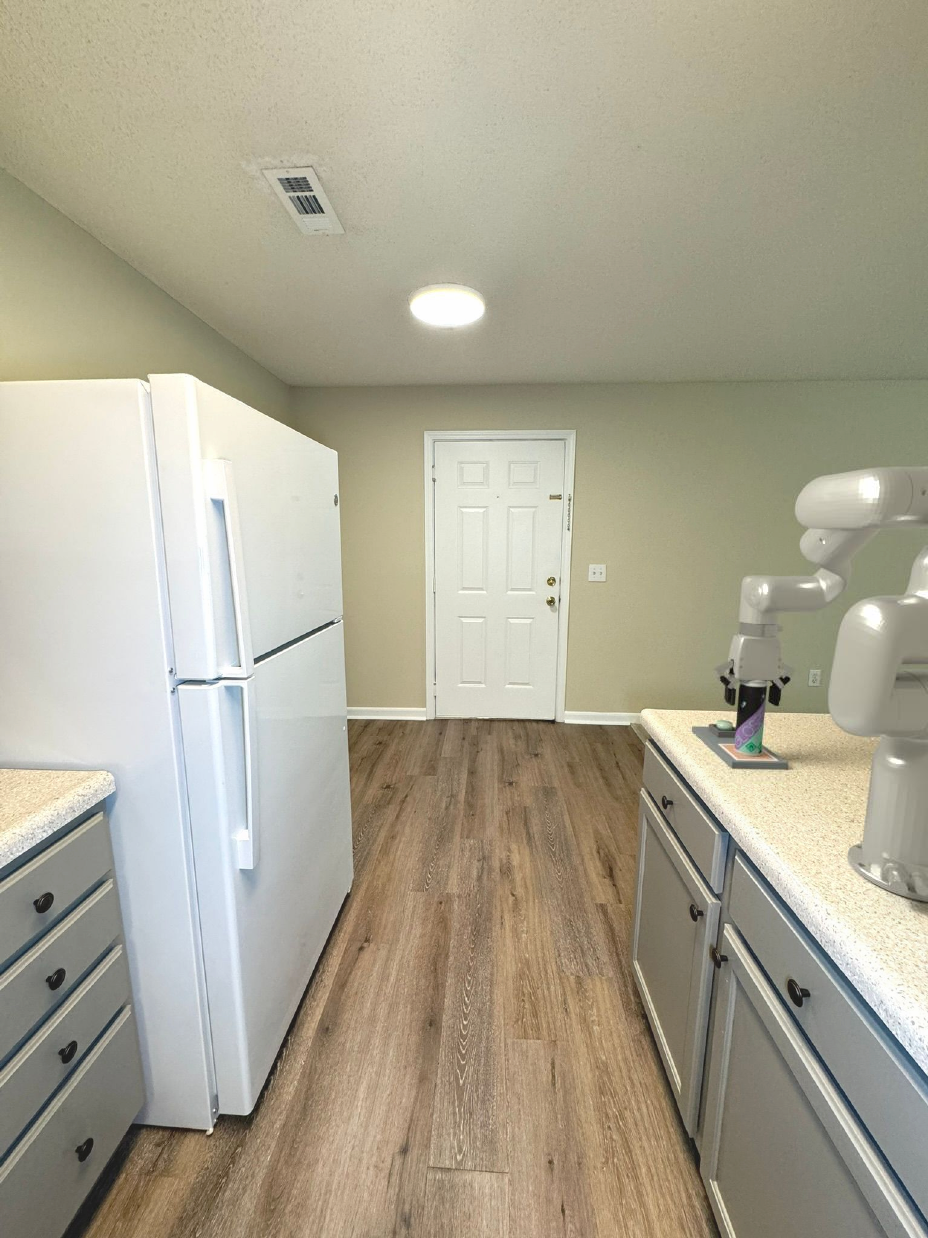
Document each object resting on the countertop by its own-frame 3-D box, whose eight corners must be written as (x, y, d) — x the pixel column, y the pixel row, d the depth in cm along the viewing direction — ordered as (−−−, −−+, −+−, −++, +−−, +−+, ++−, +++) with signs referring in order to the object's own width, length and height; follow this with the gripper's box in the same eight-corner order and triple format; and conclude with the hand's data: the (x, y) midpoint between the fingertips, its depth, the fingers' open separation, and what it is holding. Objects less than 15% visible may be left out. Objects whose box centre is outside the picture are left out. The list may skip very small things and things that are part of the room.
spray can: (734, 754, 113) (740, 669, 111) (734, 745, 118) (740, 664, 115) (761, 758, 111) (769, 672, 108) (760, 750, 116) (767, 667, 113)
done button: (735, 731, 124) (735, 725, 124) (720, 731, 124) (720, 725, 124) (728, 726, 128) (728, 720, 127) (713, 725, 128) (714, 720, 128)
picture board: (787, 769, 109) (788, 756, 109) (731, 768, 110) (732, 755, 109) (737, 732, 131) (738, 721, 130) (691, 731, 132) (692, 720, 131)
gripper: (787, 628, 114) (780, 699, 116) (710, 627, 115) (706, 698, 117) (807, 633, 106) (800, 709, 109) (725, 633, 107) (720, 709, 110)
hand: (751, 704), depth 113 cm, fingers open, 9 cm apart
